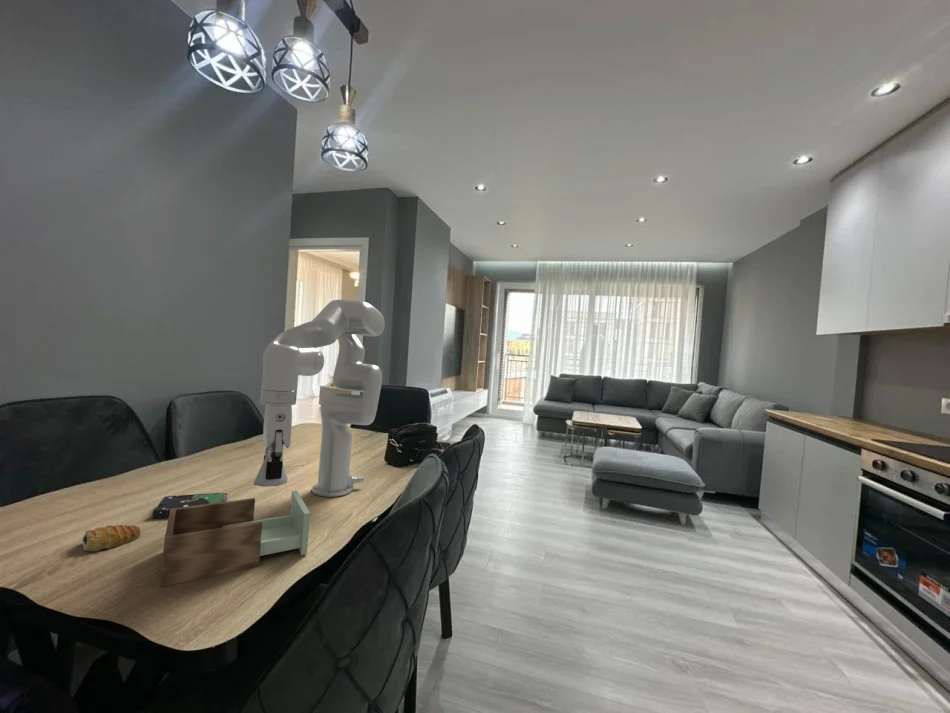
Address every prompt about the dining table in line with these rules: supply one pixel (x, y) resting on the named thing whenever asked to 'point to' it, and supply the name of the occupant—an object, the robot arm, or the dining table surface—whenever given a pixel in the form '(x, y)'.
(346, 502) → the dining table surface
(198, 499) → the disk drive
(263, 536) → the tray
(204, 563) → the caddy
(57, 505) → the dining table surface
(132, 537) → the pastry
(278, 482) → the flask
